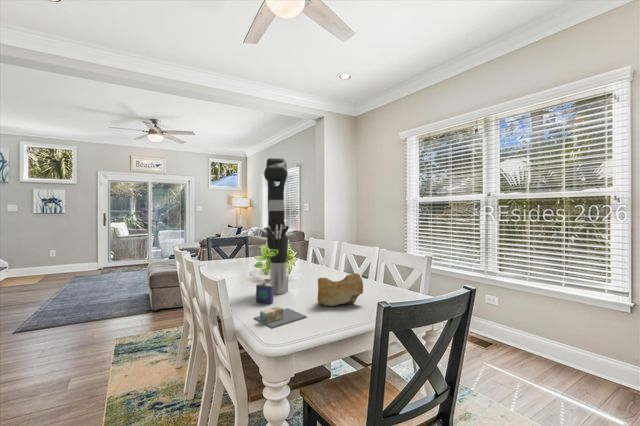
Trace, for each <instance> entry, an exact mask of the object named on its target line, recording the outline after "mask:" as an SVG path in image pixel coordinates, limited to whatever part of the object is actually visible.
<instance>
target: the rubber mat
mask: <svg viewBox="0 0 640 426" xmlns="http://www.w3.org/2000/svg"><path fill="white" fill-rule="evenodd" d="M253 318H254V320H255V321H257V322H259V323H261V324H263V325H265V326H267V327H268V328H270V329H274V328H278V327H281V326H284V325H288V324H290V323H293V322H296V321H301V320H303V319H306V318H308V316H307V315H305V314H302V313H300V312H298V311H295V310H293V309H291V308H289V307H287V308H283V318H281V319H278V320H275V321H271V322H268V323H264V322H262V321H260V315H258V316H254V317H253Z"/></svg>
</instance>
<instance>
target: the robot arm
mask: <svg viewBox="0 0 640 426" xmlns="http://www.w3.org/2000/svg"><path fill="white" fill-rule="evenodd" d="M265 165H266V167H265V169H264V172H263V175H264V179H265V181H267V226H266V227H264V228H263V230H264V232H265V233H266V235H267V236H266V244H267V248H268V249H269V250H274V251H278V253H277V254H275V255H272V256H270V258H269V267H270V271H269V272H270V273H269V275H270V277H269V281H270V283H269V285H273V295H281V294H286V293H287V292H289V275H288V274H287V273H288V272H287V270H288V268H287V262H288V261H287V260H288V252H289V251H288V246H289V239H288V236H287V232H288V230H289V229H290V227H289V226H288V225H286V222H285V219H286V218H285V217H286V216H285V215H286V214H285V213H286V212H285V211H286V210H285V195H284V194H285V187H286V182H287V178H288V173H289V172H288V169H287V161H286V159H284V158H280V157H279V158H270V157H269V158H267V160H266V164H265ZM275 182H277V183H278V182H279V183H278V185H277V183H275Z"/></svg>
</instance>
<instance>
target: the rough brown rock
mask: <svg viewBox="0 0 640 426" xmlns="http://www.w3.org/2000/svg"><path fill="white" fill-rule="evenodd" d="M363 293H364V283H363V279H362V277H361V275H360V274H359V273H351V274H347V275H346V276H345V277H344V278H343V279H340V280H337V281H334V280H331V279H330V278H327V277H318V278H317V302H318V304H321V305H323V306H325V307H326V306H328V307H333V306H334V307H335V306H339V305H344V304H350V305H353V304H355V303H356V302H357V298H358V297H359V296H360V295H362V294H363Z"/></svg>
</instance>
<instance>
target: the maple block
mask: <svg viewBox="0 0 640 426" xmlns="http://www.w3.org/2000/svg"><path fill="white" fill-rule="evenodd" d="M283 309H284V308H283V307H280V306H274V307H270V308H267V309H263V310H260V312H259V316H260V321H262V322H264V323H268V322H271V321H275V320H278V319H281V318H283Z"/></svg>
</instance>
